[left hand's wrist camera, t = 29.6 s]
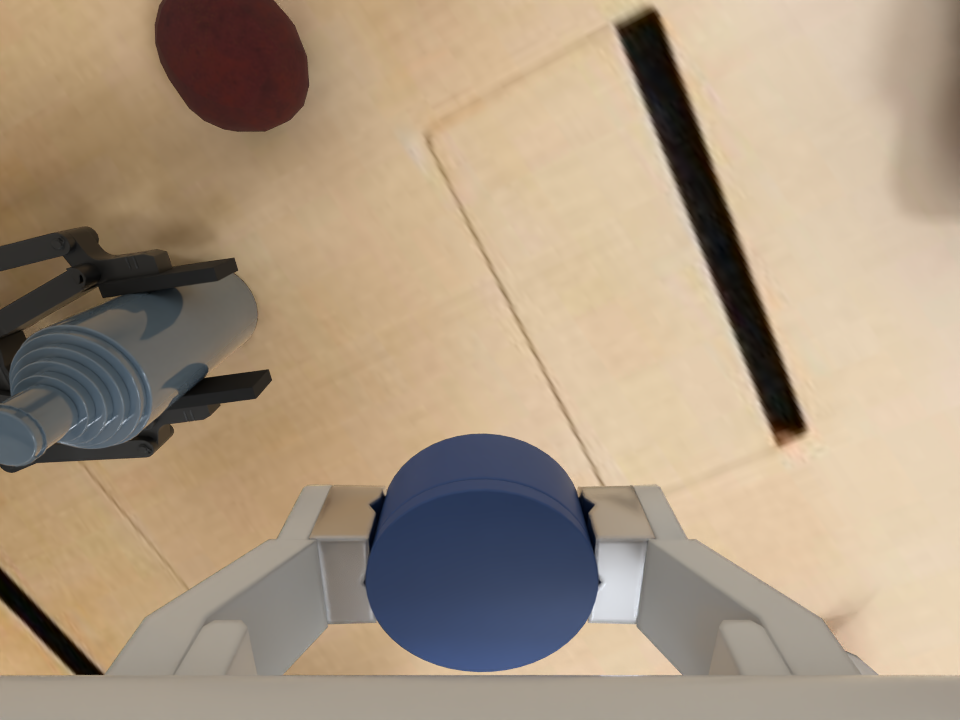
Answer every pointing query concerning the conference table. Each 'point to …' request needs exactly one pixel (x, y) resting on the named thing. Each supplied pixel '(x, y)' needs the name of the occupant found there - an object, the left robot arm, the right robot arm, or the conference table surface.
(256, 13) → the potato
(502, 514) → the cap
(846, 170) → the conference table surface
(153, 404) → the bottle
